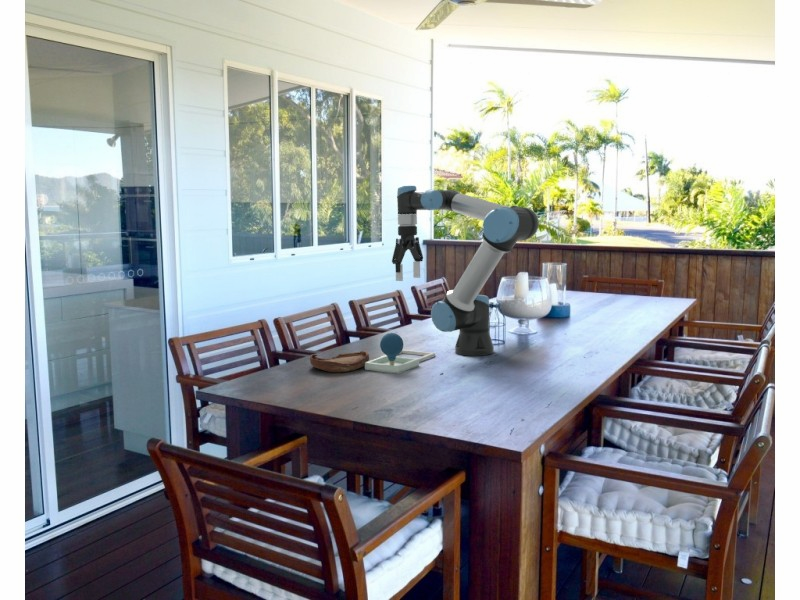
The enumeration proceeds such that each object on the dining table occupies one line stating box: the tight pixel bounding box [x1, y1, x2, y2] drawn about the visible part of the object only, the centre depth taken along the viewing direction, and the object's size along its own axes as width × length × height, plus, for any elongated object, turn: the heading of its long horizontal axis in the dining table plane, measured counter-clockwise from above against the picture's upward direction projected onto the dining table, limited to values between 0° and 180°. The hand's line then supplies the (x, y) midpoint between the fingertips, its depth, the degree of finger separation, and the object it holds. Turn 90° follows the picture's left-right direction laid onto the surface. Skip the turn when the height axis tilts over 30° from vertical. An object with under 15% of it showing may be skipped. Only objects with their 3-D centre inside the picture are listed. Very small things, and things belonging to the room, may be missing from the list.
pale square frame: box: [378, 349, 436, 363], centre depth 266 cm, size 16×16×1 cm
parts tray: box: [364, 355, 420, 375], centre depth 250 cm, size 14×14×2 cm
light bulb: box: [379, 332, 404, 365], centre depth 249 cm, size 8×8×12 cm
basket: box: [309, 350, 370, 373], centre depth 253 cm, size 22×20×5 cm
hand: (408, 279), depth 276 cm, fingers open, 13 cm apart
